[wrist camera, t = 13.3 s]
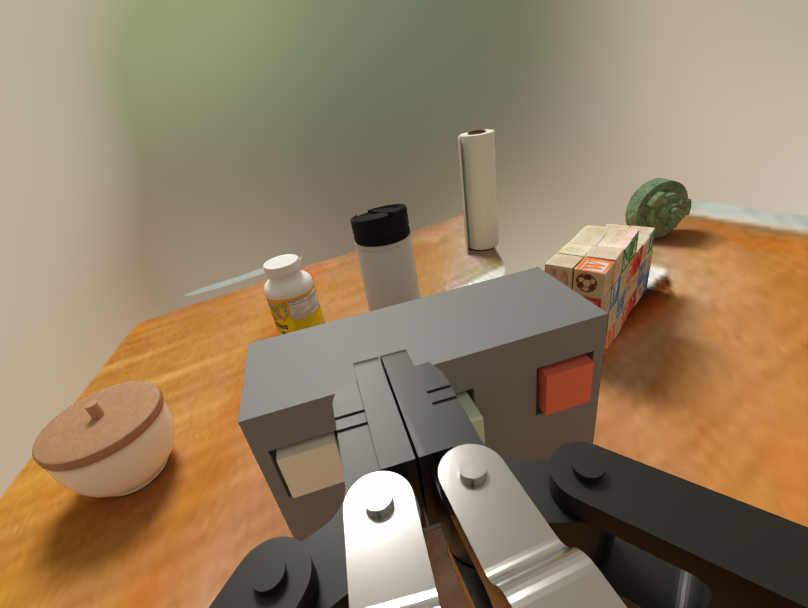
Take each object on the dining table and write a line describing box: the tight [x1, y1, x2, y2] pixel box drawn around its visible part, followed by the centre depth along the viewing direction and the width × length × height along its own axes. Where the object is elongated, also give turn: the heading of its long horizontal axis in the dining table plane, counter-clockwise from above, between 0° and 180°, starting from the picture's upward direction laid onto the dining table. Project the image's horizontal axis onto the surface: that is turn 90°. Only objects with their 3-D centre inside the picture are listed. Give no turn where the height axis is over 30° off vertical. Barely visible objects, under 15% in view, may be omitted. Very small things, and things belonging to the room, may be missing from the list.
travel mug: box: [351, 204, 420, 311], centre depth 48 cm, size 6×7×20 cm
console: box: [238, 267, 608, 542], centre depth 32 cm, size 24×8×16 cm, turn 105°
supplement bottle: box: [263, 254, 325, 335], centre depth 57 cm, size 7×7×13 cm
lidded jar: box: [32, 381, 175, 498], centre depth 40 cm, size 11×11×9 cm
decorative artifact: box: [626, 178, 691, 238], centre depth 69 cm, size 10×7×10 cm
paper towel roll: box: [458, 130, 498, 253], centre depth 76 cm, size 7×6×21 cm
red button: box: [536, 354, 594, 416], centre depth 29 cm, size 4×3×4 cm
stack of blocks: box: [545, 224, 655, 354], centre depth 51 cm, size 21×6×12 cm, turn 139°
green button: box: [456, 391, 485, 444], centre depth 26 cm, size 4×3×4 cm
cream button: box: [276, 430, 345, 498], centre depth 26 cm, size 4×3×4 cm
